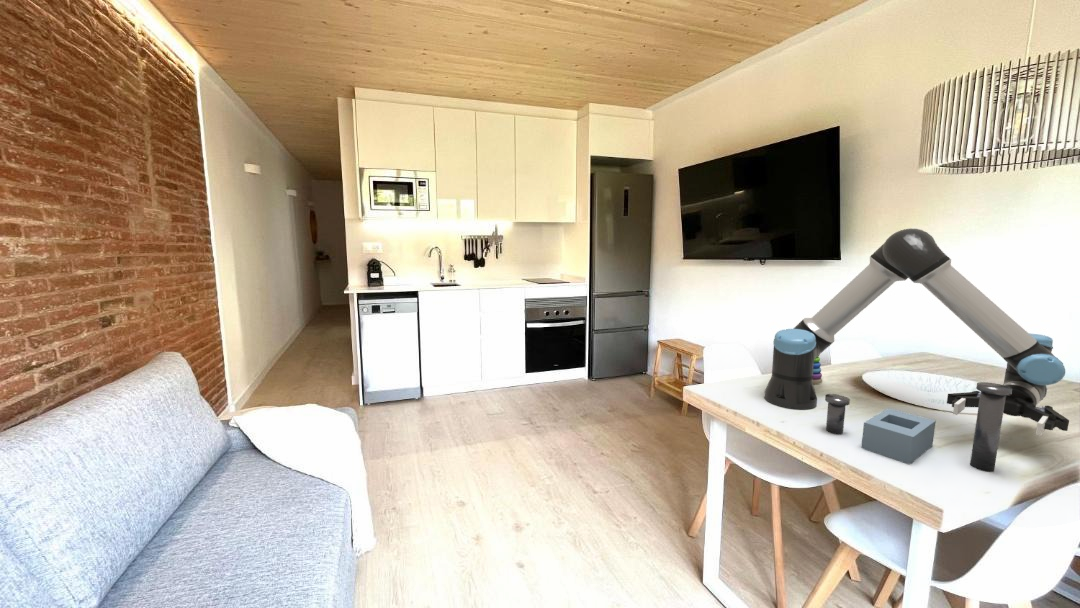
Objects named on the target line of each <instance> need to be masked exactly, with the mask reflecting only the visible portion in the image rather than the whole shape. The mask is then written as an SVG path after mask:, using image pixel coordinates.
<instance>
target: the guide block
mask: <svg viewBox="0 0 1080 608" xmlns="http://www.w3.org/2000/svg"><path fill="white" fill-rule="evenodd" d="M936 422H937V421H936V420H935V419H932V418H928V417H924V416H919V415H917V414H912V413H908V412H904V411H901V410H897V409H892V408H889V407H888V408H887V409H884V410H883V411H881V412H879V413H878V414H876V415H875V416H873V417H870V418H869V419H868V420H865V421H864V422H863V429H862V438H861V449H863V450H865V451H866V450H867V451H870V452H872V453H874V454H877V455H881V456H883V457H886V458H890V459H893V460H895V461H899V462H902V463H904V464H907V465H911V464H912V463H913V462H915V461H916V460H917V459H919V458H920V457H921V456H922V455H924V453H926V452H927V451H928V450H929V449H931V447H933V445H934V439H935V438H934V437H935V429H936Z"/></svg>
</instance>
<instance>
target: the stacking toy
mask: <svg viewBox="0 0 1080 608" xmlns="http://www.w3.org/2000/svg"><path fill="white" fill-rule="evenodd" d="M820 361H821V358H820V356H817V357H816V359H815V360H814V366H813V377H812V382H813V385H820V384H822V383H823V378H822V377H823V373H822V368H821V362H820Z"/></svg>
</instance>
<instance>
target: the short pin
mask: <svg viewBox="0 0 1080 608" xmlns="http://www.w3.org/2000/svg"><path fill="white" fill-rule="evenodd" d="M824 401H825V402H827V403H828V404H827V413H826V414H827V415H826V423H825V424H826V425H825V431H826V432H827V433H829V434H832V435H843V434H844V426H845V417H846V406H849V405H850V402H851V399H850V398H849V397H848V396H845V395H842V394H836V393H835V394H834V393H827V394H825V397H824Z"/></svg>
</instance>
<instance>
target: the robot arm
mask: <svg viewBox="0 0 1080 608" xmlns="http://www.w3.org/2000/svg"><path fill="white" fill-rule="evenodd" d="M908 279H909V280H910V281H911V282H913V283H914V284H921V285H922V286H924V287H925V289H927V290H928V291H929V292H930V293H931V294H932V295H933V296H934V297H935V298H936V299H937V300H939V301H940V302H941V303H942V304H943V305H944V306H945V307H947V309H949V311H951V312H952V313H953V314H954V315H955V316H956V317H957V318H958V319H959V320H960V321H962V322H963V323H964V325H966V326H967V327H968V328H970V330H972V331H973V333H975V334H976V335H977V336H979V338H980V339H981V340H983V341H984V342H985V343H986V344H987V345H988V346H989V347H990V348H991V349H992V350H993V351H994V352H995V353H997V354H998V355H999V356H1000V357H1001V358H1002V359H1003V360H1004V361H1005V362H1006V368H1005V373H1004V379H1003V384H1002V385H1005V386H1008V387H1010V388H1012V395H1009V396H1006V399H1005V405H1004V411H1003V415H1008V416H1011V417H1012V416H1013V417H1022V418H1027V419H1030V420H1032V421H1034V422H1036V423H1037V425H1036V431H1035V435H1037V436H1042V435H1043V433H1044V432H1045V430H1048V431H1053V430H1055V428H1057V429H1058V430H1061V431H1063V432H1067V431H1068V430H1069V424H1070V419H1068V418H1066V417H1065V416H1063V415H1062V414H1061V413H1059V412H1057V411H1056V410H1055V409H1053V406H1050V405H1045V406H1043V405H1042V406H1041V407H1040V406H1038V404H1040V402H1041V401H1042V400H1044V398H1046V396H1047V392H1048V387H1047V386H1050V385H1054V384H1055V385H1056V384H1058V383H1059V382H1061V381H1062V380H1063V378H1065V375H1066V368H1065V364H1064V363H1063V362H1062V361H1061V360H1060V359H1059V358H1058V357H1056V356H1055V355H1054V354H1053V352H1052V351H1053V350H1054V346H1053V343H1054V340H1053V338H1052V337H1050V336H1049V335H1048V336H1047V335H1043V334H1038V333H1029V332H1028V331H1027V330H1025V328H1023V327H1022V326H1021V325H1020V324H1018V323H1017V322H1016V321H1015V319H1013V317H1011V316H1010V315H1008V314H1007V313H1006V312H1005V311H1004V310H1003V309H1001V307H999V306H998V305H997V304H996V303H995V302H993V301H992V300H991V299H990V298H989V297H987V295H986V294H984V293H983V292H982V291H981V290H980V289H979V288H977V287H976V285H974V284H973V283H971V281H970V280H968V279H967V278H966V277H965V276H964V275H963V274H962V273H960V271H958V270H957V269H956V268H954V267H953V266H952V259H951V258H950V257H949V256H948V255H947V254H946V253H944V251H943V250H942V249H941V248H940V247H939V246H938V244H937V242H936V241H935V239H934V237H933V235H931V234H930V233H929V232H926V230H925V231H924V230H923V229H919V228H910V227H909V228H905V229H902V230H901V229H900V230H898V231H896V232H894V233H892V234H891V235H890V236H889V237H888V238H887V239H886V240H885V242H884V243H882V245H881V246H879V247H878V249H876V250H875V251H874V252H872V254H871V255H870V256H869V264H868V265H867V266H865V267H864V269H862V270H861V271H860V272H859V273H858V275H856V276H855V277H854V278H853V279H852V280H851V281H850V282H849V283H848V284H846V285H845V287H843V288H842V289H841V290H840V291H839V292H838V293H837V294H836V295H835V296H833V297H832V298H831V299H830V300H829V301H828V302H827V303H826V304H825V305H824V306H823V307H822V308H821V309H819V311H817V312H816V313H815V314H814V315H813V316H812V317H804V318H803V319H802V320H801V321H800V322H799V323H797V324H796V326H795V327H793V328H787V329H781V330H778V331H776V333H775V334H774V338H773V351H772V365H771V367H772V369H771V377H770V379H769V381H768V383H767V386H766V388H765V390H764V399H765V400H766V401H768V402H769V403H771V404H772V405H776V406H779V407H782V408H787V409H793V410H808V409H809V410H810V409H815V408H816V407H817V404H818V397H817V393H816V390H815V387H814V384H813V382H812V377H813V366H814V360H815V359H816V357H817V356H818V357H820V355H821V354H822V353H823V352H824V351H825V350H827V349H828V348H829V347H830V346H831V345H832V344H833V343H834V342H835V335H836V334H837V333H838V332H840V331H841V330H842V329H843V328H844V327H846V325H847V324H849V323H850V322H851V321H852V320H854V318H855V317H857V316H858V315H859V314H860V313H862V312H863V310H865V309H866V308H867V307H868V306H870V305H871V304H872V303H873V302H874V301H875V300H876V299H877V298H878V297H880V296H881V295H882V294H883V293H884V292H885V291H886V290H888V289H889V288H890V287H891V286H892V285H894V283H895V282H900V281H901V282H902V281H906V280H908ZM980 393H981V391H979V390H973V391H970V392H969V391H968V392H966V391H965V392H955V393H954V392H953V393H947V399H946V404H949V405H951V408H953V411H952V415H954V416H958V415H959V414H960V413H962V412H963V411H964V410H965V408H978V407H979V400H980Z"/></svg>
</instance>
